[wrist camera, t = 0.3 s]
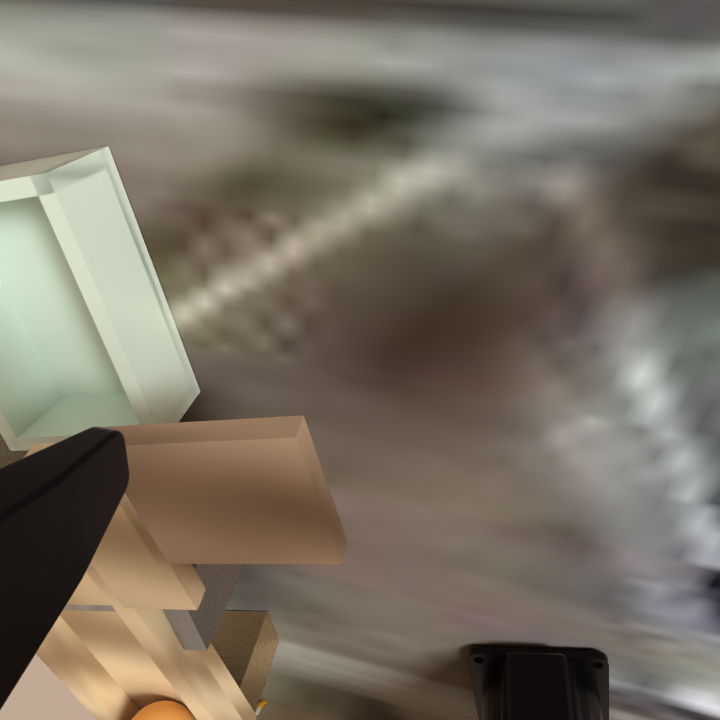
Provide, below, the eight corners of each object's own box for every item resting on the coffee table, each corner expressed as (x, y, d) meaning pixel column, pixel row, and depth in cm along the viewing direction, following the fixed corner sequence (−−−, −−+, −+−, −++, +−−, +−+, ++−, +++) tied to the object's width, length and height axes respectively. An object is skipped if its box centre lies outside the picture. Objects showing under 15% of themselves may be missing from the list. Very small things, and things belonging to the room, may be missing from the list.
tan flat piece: (424, 726, 28) (419, 794, 26) (142, 706, 31) (117, 765, 29) (313, 384, 17) (289, 455, 15) (-102, 413, 20) (-169, 473, 18)
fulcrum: (313, 642, 34) (275, 783, 28) (164, 636, 36) (99, 765, 30) (244, 447, 27) (176, 576, 21) (68, 455, 29) (-37, 573, 24)
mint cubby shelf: (200, 391, 26) (163, 443, 23) (61, 401, 28) (10, 451, 25) (108, 146, 21) (46, 172, 18) (-53, 175, 23) (-133, 204, 20)
